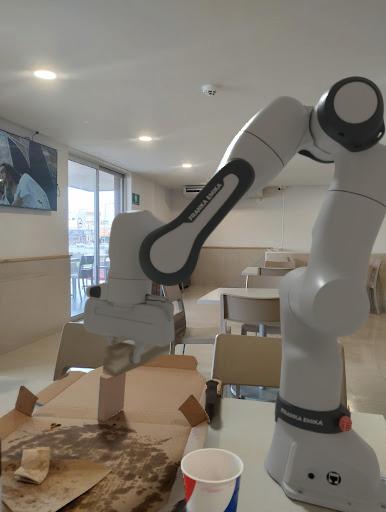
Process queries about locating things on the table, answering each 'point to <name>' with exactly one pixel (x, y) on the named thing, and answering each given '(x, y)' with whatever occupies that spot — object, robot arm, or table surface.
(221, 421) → the table surface
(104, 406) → the tile
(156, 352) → the gray bar
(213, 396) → the hand tool
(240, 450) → the table surface
